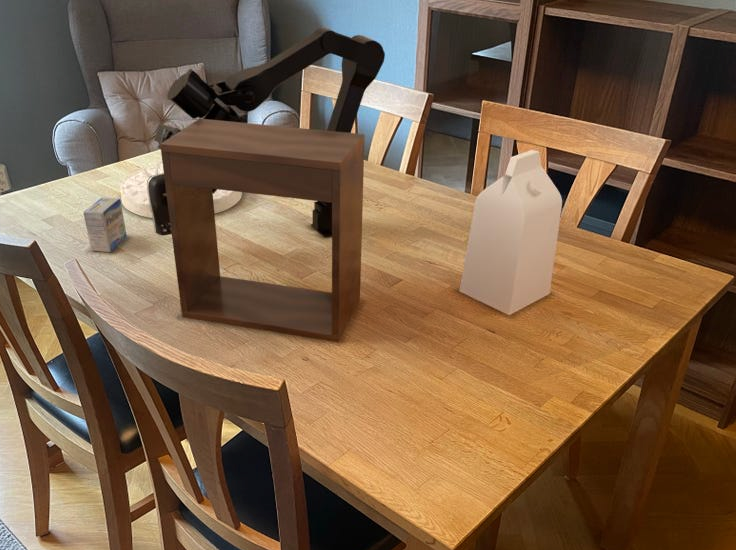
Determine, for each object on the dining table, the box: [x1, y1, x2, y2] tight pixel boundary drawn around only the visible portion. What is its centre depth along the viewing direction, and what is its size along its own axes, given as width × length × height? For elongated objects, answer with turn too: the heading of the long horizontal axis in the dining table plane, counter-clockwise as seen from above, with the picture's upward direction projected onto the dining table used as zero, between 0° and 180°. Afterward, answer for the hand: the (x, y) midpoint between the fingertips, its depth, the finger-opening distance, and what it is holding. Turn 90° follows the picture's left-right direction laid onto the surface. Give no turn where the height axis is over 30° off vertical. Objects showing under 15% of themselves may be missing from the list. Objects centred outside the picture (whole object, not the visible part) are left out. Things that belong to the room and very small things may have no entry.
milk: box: [458, 149, 563, 316], centre depth 129 cm, size 12×12×26 cm
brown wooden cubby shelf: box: [160, 118, 365, 343], centre depth 122 cm, size 14×28×30 cm, turn 74°
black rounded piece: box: [147, 173, 172, 237], centre depth 141 cm, size 7×4×11 cm, turn 126°
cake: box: [119, 161, 243, 219], centre depth 172 cm, size 28×28×10 cm
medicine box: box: [83, 197, 128, 253], centre depth 150 cm, size 8×4×9 cm, turn 168°
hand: (162, 201), depth 140 cm, fingers closed on black rounded piece, 4 cm apart
